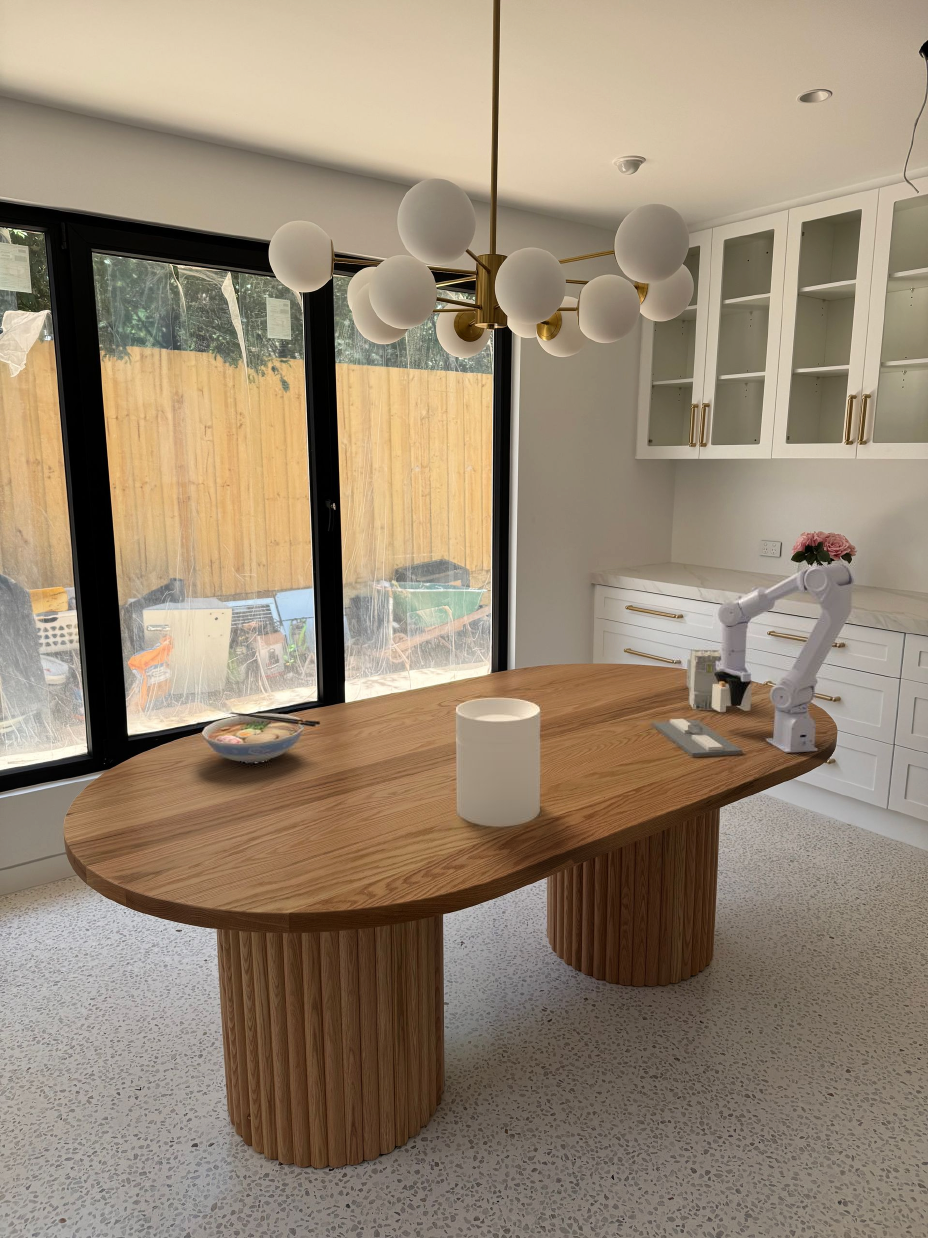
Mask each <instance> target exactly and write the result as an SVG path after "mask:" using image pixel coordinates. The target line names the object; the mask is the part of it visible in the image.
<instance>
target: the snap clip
mask: <svg viewBox="0 0 928 1238" xmlns="http://www.w3.org/2000/svg"><path fill="white" fill-rule="evenodd" d="M688 730H689V731H691V732H692V733H702V732H703V728H702V727H701V726H699V725H698V724H691V725H688Z"/></svg>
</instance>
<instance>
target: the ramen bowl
mask: <svg viewBox="0 0 928 1238" xmlns="http://www.w3.org/2000/svg"><path fill="white" fill-rule="evenodd" d="M229 714H231V715H236V716H232V717H228V718H224V719H221V720H217V721H214V722H212V723H211V724H208V725H207V726H205V727H204V728H203V730H202V732H201V735H202V736H203V738H204V740H205V741H206V742H207V744H208V745H209V747H211V748H212V749H213V751H214V752H215V753H217V754H218V755H219V756H221V757H223V758H225V759H229V760H231V761H233V762H234V761H235V762H240V761H241V762H240V763H243V762H247V763H246V764H248V763H255V762H262V761H266V760H268V761H270V760H272V759H274V758H276V757H279V756H282V755H283V754H284V753H286V752H287V751H289V749H291V748H293V747H294V746H295V745H296V743H297V742H298V740H299V739H300V737H301V735H302V733H303V730H304V729H305V726H307V727H312V728H313V727H316V726H317V725H318V726H319V725H321V721H319V720H310V719H301V718H300V717H296V716H293V715H290V714H283V713H281V714H279V713H243V712H241V713H240V712H233V711H232V712H229ZM271 758H272V759H271ZM269 759H270V760H269ZM266 762H267V761H266ZM255 764H256V763H255Z"/></svg>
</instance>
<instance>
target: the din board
mask: <svg viewBox="0 0 928 1238" xmlns="http://www.w3.org/2000/svg"><path fill="white" fill-rule="evenodd" d="M691 724H698V725H699V726H701V727H702V728H703V732H702V733H692V732H691V731H689V730H688V725H691ZM651 726H652V727H653V728H654V729H655V730H657V731H658V732H659V733H661V734H662V735H663V736H664V737H666V738H667V739H668V740H669V741H671V742H672V743H673V744H675V745H676V746H677V747H679V749H681V750H682V751H684V752H685V753H686V754H688V755H689V756H690V757H691V758H704V757H718V756H719V757H720V756H721V757H722V756H734V755H735V756H736V755H737V756H738V755H743V750H742V749H741V748H740V747H738V746H737V745H735V744H733V742H731V741H729V740H728V739H727V738H725V737H724V736H722V735H721V734H719V733H718V732H716V731H714V730H713V729H711V728H710V727H709V726H707V725H705V724H704V723H702V722H701V721H699V719H688V720H687V719H685V718H672V719H669V721H666V720H665V721H652V725H651Z"/></svg>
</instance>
